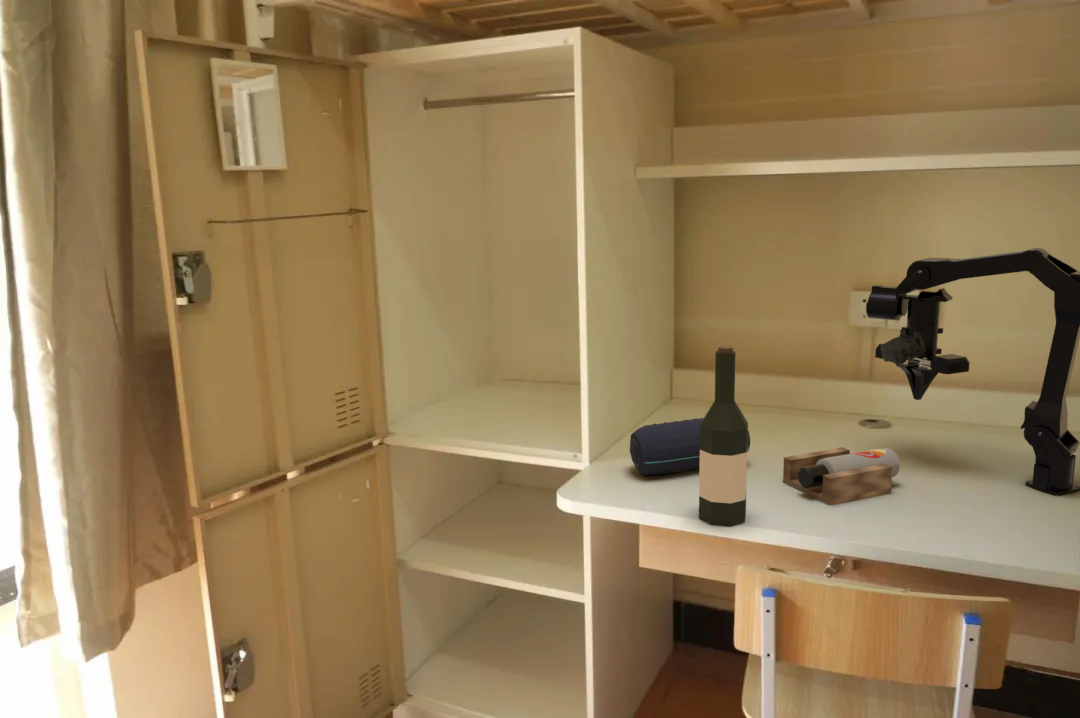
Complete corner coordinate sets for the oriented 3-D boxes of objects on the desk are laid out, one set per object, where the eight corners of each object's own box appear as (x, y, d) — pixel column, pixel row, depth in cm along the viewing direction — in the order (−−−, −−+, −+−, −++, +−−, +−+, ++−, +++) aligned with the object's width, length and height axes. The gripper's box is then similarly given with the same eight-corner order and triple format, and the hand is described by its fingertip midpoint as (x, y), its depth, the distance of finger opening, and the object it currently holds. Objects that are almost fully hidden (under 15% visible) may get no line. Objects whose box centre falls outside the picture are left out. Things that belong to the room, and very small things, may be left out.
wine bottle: (712, 504, 149) (714, 340, 143) (755, 515, 144) (760, 345, 137) (689, 519, 142) (690, 348, 136) (733, 530, 137) (737, 354, 131)
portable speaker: (728, 453, 177) (729, 408, 175) (754, 467, 168) (756, 420, 166) (621, 468, 169) (620, 421, 167) (642, 484, 160) (642, 435, 158)
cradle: (841, 471, 164) (842, 447, 163) (890, 492, 152) (892, 467, 151) (782, 482, 159) (783, 457, 158) (829, 505, 147) (830, 478, 146)
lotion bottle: (878, 444, 159) (792, 459, 152) (901, 451, 154) (813, 466, 147) (878, 473, 160) (792, 488, 153) (900, 480, 154) (812, 497, 148)
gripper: (856, 319, 168) (852, 393, 171) (929, 333, 151) (923, 415, 154) (898, 315, 172) (894, 387, 175) (974, 328, 155) (967, 408, 158)
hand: (917, 399), depth 166 cm, fingers closed
